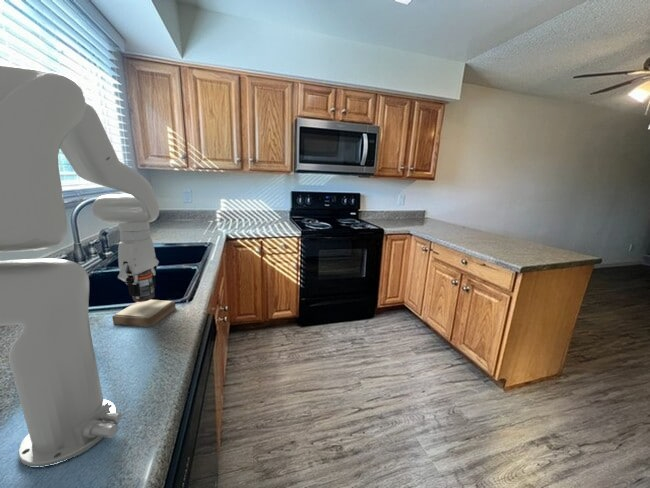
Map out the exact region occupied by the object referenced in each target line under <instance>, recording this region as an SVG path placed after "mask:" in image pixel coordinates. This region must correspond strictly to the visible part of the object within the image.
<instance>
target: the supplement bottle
mask: <svg viewBox="0 0 650 488" xmlns="http://www.w3.org/2000/svg"><path fill="white" fill-rule="evenodd" d="M131 274H132V272H131ZM131 279H133V276H131ZM137 284H139V287H140V294H141V295H140V296H139V297H137V296H131V297H132V301H134V302H135V303H136V302H144V301H148V300H153V299H154V298H155V294H156V293H155V288H154V284H153V276H152V271H151V270H146V271H144V272H142V273H140V274H138V280H137Z"/></svg>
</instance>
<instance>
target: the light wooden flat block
mask: <svg viewBox="0 0 650 488" xmlns="http://www.w3.org/2000/svg"><path fill="white" fill-rule="evenodd" d="M174 309H175V310H176V309H177V308H176V301H173V300H162V299H161V300H160V299H150V300H148V301H144V302H136V301H135V302H134V303H132V304H130V305H128V306H127V307H125V308H124V309H122V310H120V311H118V312H117V313H115V314H113V315H112V324H113V325H120V324H123V325H122V326H132V327H134V326H135V327H147V328H151V327H153V326H154V325H156V324H157V323H158V322H160V321H161V320H162V319H164V318H165V317H166V316H169V314H170V312H171V313H172V312H174V311H175V310H174Z"/></svg>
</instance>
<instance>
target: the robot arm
mask: <svg viewBox="0 0 650 488" xmlns="http://www.w3.org/2000/svg"><path fill="white" fill-rule="evenodd" d="M60 150H61V152H62V155H63V156H64V157H65V159H66V160H67V162H68V164H70V166H71V167H72V169H73V171H74V172H75V174H76V175H77V176H78V177H80V178H82V179H84V180H85V181H88V182H90V183H93V184H95V185H99V186H103V187H106V188H109V189H113V190H117V191H119V192H123V193H119V194H103V195H100V196H98V197H97V198H96V199H95V200H94V201H93V203H92V214H93V215H94V217H95V218H96V219H97V220H98V221H100V222H102V223H105V224H118V225H117V226H118V230H119V238H120V242H119V243H118V248H117V257H118V258H117V262H118V269H119V274H118V275H117V279H118V280H121V281H122V282H124V283H125V284H126V285H127V289H128V294H129V296H130V297H132V296H137V297H139V296H140V295H141V294H140V287H139V284H137V280H138V274H140V273H142V272H144V271H146V270H151V271H152V276H153V284H154V289H155V288H157V285H156V284H157V283H156V278H155V277H156V273H157V272H156V270H157V268H158V265H159V263H160V261H159V260H158V258H157V256H156V252H155V251H156V250H155V246H154V242H153V238H152V236H151V229H150V227H151V226H150V223H152V222H154V221H156V220H157V219H158V217H160V216H159V215H160V206H159V202H158V199H157V196H156V194H155V191H154V189H153V188H154V187H153V186H152V185H151V184H150V182H149V181H148V179H146V178H145V177H144V176H143V175H142V174H140V173H139V172H137V170H134V169H133V168H131V167H130V166H128V165H126V163H123V162H121V161H120V160H119V158H118V155H117V152H116V151H115V149H114V146H113V145H112V142H111V141H110V138H109V136H108V134H107V132H106V130H105V127H104V125H103V123H102V121H101V119H100V117H99V115H98V113H97V111H96V110H95V108H94V107H93V106H92V104H90V103H89V102H87V101H86V97H85V93H84V91H83V89H82V87H81V86H80V85H79V84H78V83H77V82H76V81H75V80H74V79H72V78H70V77H69V76H67V75H63V74H62V73H59V72H55V71H50V70H45V69H38V68H31V67H25V66H24V67H23V66H14V65H5V64H0V253H16V252H17V253H18V252H19V253H20V252H28V251H29V252H31V251H40V250H41V251H42V250H47V249H51V248H55V247H56V246H59V245H61V244H62V243H63V242H64V241H65V240H66V236H67V233H68V220H67V211H66V205H65V200H64V199H65V198H64V194H63V186H62V182H61V181H62V180H61V174H60V167H59V166H60V165H59V153H60ZM131 272H132V274H131ZM131 276H133V279H131ZM89 300H90V279H89V273H88V271H86V269H85V268H84V267H83V266H82V265H80V263H77V262H75V261H73V260H68V259H63V258H54V257H53V258H50V257H49V258H47V257H46V258H24V259H22V258H21V259H8V260H7V259H6V260H0V326H12V325H13V326H14V325H15V326H17V325H18V326H22V331H21V333H20V334H19V336H17V338H16V340H14V341H13V343H12V345H11V346H10V349H9V352H8V363H9V366H10V370H11V373H12V376H13V379H14V380H13V381H14V383H15V384H14V385H15V388H16V391H17V395H18V399H19V403H20V405H21V406H20V407H21V409H22V414H23V417H24V420H25V423H26V427H27V428H26V429H27V430H28V433H27V434H26V436H25V437H24V438H23V439H22V441H21V443H20V445H19V446H18V447H19V448H18V451H17V452H18V453H17V454H18V459H19V460H21V461H20V462H22V463H23V465H24V464H25V465H27V466H26V467H28V466H39V467H40V466H45V465H50V464H54V463H57V462H60V461H64V460H66V459H70V458H72V457H74V458H76V457H77V455H78V456H80V455H81V454H83V453H85V452H86V451H88V450H90V449H91V448H92V447H94V446H96V445H97V444H98V443H99V442H100V441H101V440H102V439H103V438H105V439H111V438H113V437H114V436H115V435H116V433H117V431H118V430H119V428H118V427H119V426H118V424H115V423H118V422H120V421H121V419H122V416H123V414H122V412H118V411H117V408H116V405H115V404H114V403H113V402H112V401H111V400H107V399H104V396H103V392H102V391H103V389H102V385H101V380H100V376H99V370H98V363H97V359H96V353H95V348H94V343H93V337H92V332H91V326H90V325H91V324H90V318H89V317H90V315H89V307H88V306H89V305H88V302H89ZM75 456H76V457H75ZM72 459H73V458H72ZM70 460H71V459H70ZM22 463H21V464H22ZM25 465H24V466H25Z"/></svg>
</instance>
